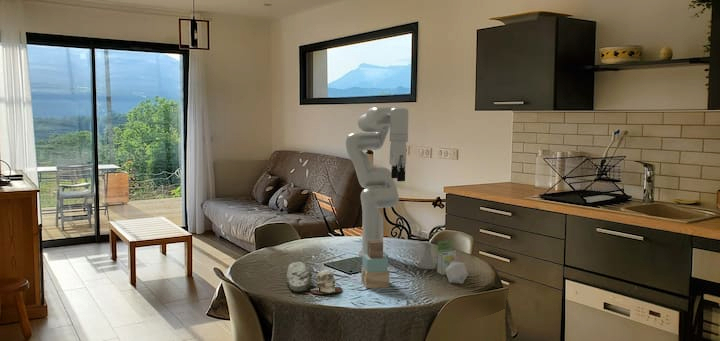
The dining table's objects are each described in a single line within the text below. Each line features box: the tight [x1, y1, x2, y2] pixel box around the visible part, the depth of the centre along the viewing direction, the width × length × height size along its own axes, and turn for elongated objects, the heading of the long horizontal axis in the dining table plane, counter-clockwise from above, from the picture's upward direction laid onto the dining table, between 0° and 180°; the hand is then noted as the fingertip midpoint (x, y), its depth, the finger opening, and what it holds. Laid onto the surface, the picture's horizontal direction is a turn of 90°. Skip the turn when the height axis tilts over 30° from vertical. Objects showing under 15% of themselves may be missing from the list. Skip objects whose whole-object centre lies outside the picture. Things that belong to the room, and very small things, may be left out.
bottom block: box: [360, 266, 390, 289], centre depth 227 cm, size 9×9×6 cm
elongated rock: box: [285, 261, 313, 292], centre depth 232 cm, size 35×5×10 cm
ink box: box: [436, 239, 457, 276], centre depth 241 cm, size 7×4×13 cm, turn 117°
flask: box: [418, 243, 437, 270], centre depth 250 cm, size 7×7×10 cm
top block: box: [361, 254, 389, 273], centre depth 226 cm, size 8×8×5 cm
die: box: [445, 261, 469, 285], centre depth 230 cm, size 8×9×10 cm
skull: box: [310, 269, 343, 295], centre depth 218 cm, size 12×10×10 cm
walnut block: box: [368, 239, 384, 258], centre depth 226 cm, size 5×5×6 cm
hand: (398, 179), depth 242 cm, fingers open, 9 cm apart
